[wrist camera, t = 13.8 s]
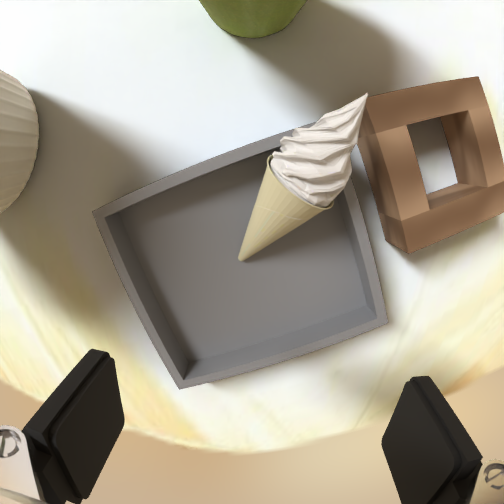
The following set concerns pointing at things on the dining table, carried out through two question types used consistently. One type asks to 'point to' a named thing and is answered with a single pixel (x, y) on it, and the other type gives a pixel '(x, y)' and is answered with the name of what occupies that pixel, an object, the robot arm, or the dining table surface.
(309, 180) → the ice cream cone
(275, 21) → the plant pot
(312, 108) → the dining table surface
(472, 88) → the cone stand
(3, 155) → the canister
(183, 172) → the grey tray
